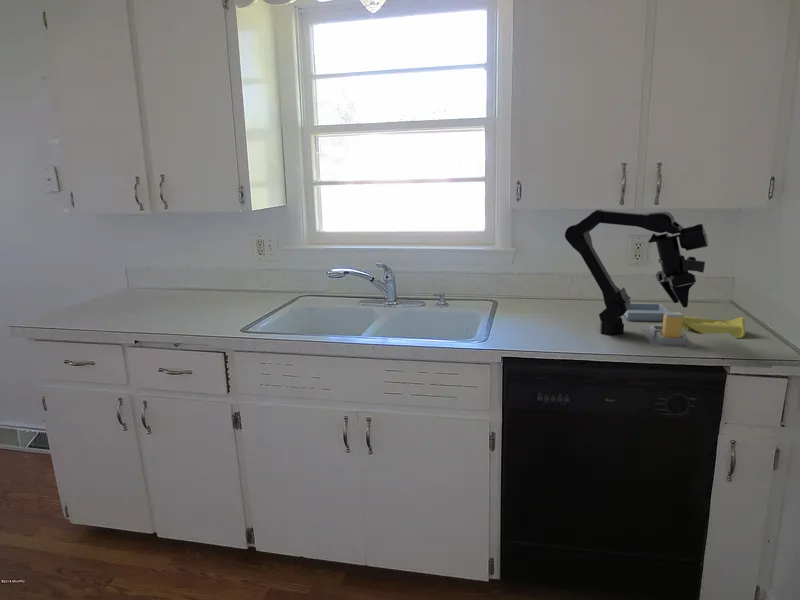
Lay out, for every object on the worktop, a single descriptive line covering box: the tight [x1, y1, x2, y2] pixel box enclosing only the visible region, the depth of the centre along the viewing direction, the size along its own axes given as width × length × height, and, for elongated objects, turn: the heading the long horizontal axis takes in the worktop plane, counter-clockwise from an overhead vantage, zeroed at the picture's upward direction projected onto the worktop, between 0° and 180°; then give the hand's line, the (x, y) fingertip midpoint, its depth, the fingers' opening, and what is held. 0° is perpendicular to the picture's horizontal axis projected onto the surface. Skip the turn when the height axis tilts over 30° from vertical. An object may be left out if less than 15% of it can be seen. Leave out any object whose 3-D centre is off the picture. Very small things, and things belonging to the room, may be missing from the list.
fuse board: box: [639, 324, 698, 349], centre depth 174 cm, size 12×18×4 cm, turn 169°
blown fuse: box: [662, 311, 683, 338], centre depth 169 cm, size 3×4×9 cm, turn 79°
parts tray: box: [622, 302, 670, 323], centre depth 203 cm, size 14×14×3 cm
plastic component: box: [676, 311, 746, 339], centre depth 182 cm, size 20×7×10 cm
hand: (680, 304), depth 168 cm, fingers open, 9 cm apart
